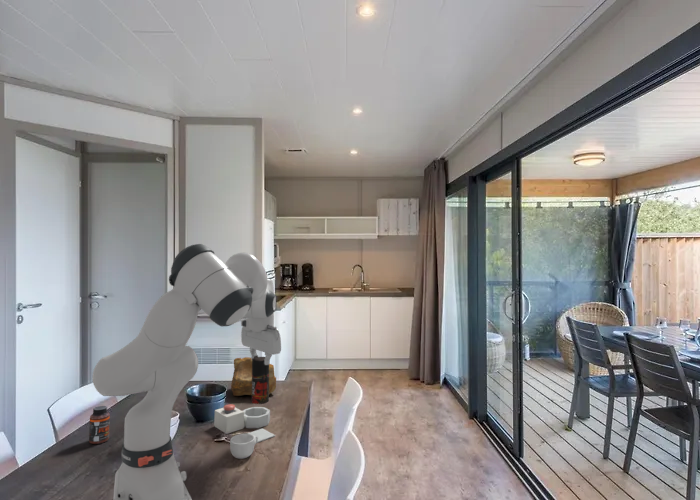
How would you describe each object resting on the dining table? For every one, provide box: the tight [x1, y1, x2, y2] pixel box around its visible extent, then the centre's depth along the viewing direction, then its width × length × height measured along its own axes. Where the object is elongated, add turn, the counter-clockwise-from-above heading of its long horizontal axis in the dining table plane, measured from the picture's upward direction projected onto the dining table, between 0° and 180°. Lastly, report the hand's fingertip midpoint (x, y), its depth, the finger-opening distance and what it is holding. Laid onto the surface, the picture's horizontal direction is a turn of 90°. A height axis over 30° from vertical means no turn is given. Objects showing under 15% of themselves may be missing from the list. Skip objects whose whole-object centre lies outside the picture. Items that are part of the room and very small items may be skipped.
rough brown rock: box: [230, 356, 277, 397], centre depth 191 cm, size 23×17×15 cm
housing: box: [213, 406, 271, 435], centre depth 157 cm, size 13×18×6 cm
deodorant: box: [251, 356, 270, 405], centre depth 148 cm, size 6×6×15 cm
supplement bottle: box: [88, 405, 111, 445], centre depth 142 cm, size 6×6×11 cm
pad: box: [248, 427, 276, 444], centre depth 148 cm, size 8×8×1 cm
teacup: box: [229, 432, 258, 460], centre depth 135 cm, size 10×8×5 cm
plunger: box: [223, 403, 236, 414], centre depth 155 cm, size 4×4×6 cm
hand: (260, 362), depth 148 cm, fingers closed on deodorant, 6 cm apart
